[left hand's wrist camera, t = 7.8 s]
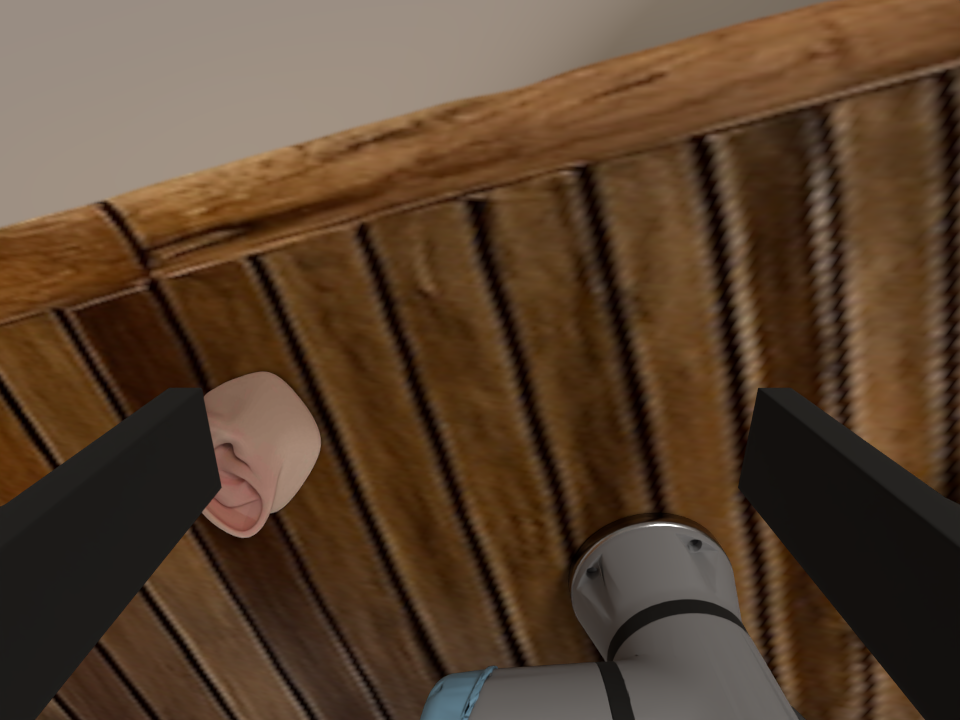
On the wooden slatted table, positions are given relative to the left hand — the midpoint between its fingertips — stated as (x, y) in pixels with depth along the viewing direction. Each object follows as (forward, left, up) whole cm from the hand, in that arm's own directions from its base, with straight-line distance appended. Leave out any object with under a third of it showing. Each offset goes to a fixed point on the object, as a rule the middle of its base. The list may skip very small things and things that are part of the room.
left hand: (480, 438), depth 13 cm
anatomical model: (-9, +24, -29) cm, 39 cm away
